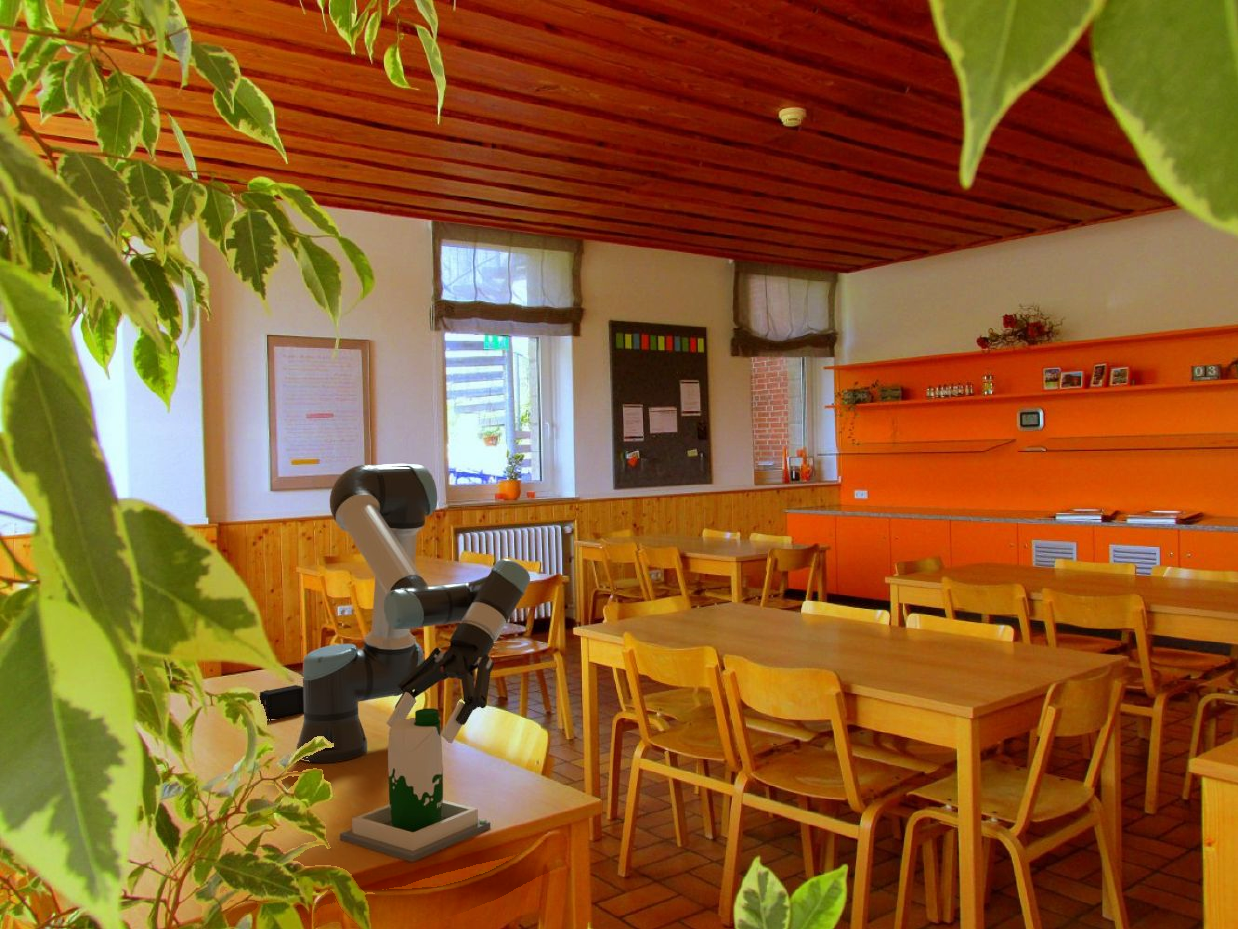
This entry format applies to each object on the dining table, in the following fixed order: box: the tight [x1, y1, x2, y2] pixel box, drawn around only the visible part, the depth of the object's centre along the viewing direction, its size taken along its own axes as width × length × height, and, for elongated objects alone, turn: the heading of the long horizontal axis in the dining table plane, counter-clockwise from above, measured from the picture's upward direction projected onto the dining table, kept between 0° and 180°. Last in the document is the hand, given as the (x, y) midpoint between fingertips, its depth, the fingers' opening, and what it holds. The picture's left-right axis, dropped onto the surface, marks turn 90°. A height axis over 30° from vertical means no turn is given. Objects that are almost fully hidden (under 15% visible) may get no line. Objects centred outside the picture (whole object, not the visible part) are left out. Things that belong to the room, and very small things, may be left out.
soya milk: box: [387, 707, 444, 832], centre depth 176 cm, size 9×9×20 cm
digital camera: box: [258, 684, 304, 722], centre depth 263 cm, size 10×5×7 cm, turn 138°
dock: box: [339, 799, 491, 863], centre depth 176 cm, size 18×18×4 cm
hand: (418, 733), depth 177 cm, fingers open, 13 cm apart
